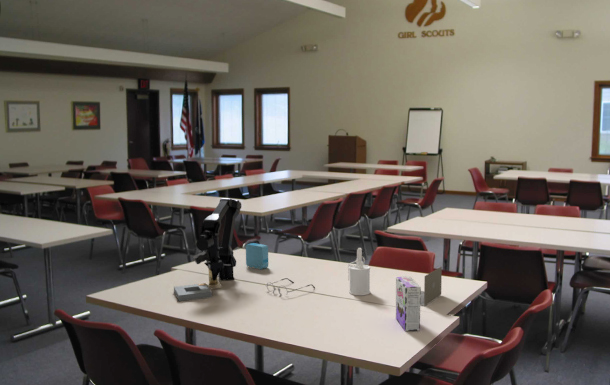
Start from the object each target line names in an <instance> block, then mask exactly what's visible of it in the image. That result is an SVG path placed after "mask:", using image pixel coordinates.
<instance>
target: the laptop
mask: <svg viewBox="0 0 610 385" xmlns="http://www.w3.org/2000/svg"><path fill="white" fill-rule="evenodd" d="M442 270H443V269H442V266H440V267H438V268H436V269H435V270H433V271H430V272H429V273H428V274H426V275H424V286H423V287H424V289H423V290H424V291H423V290H421V301H420V307H421V306H422V307H425V306H427V305H429V304H431V303H432V302H433V301H435V300H436V299H438V298H439V297H441V295H442V279H443V278H442Z"/></svg>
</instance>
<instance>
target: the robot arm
mask: <svg viewBox="0 0 610 385" xmlns="http://www.w3.org/2000/svg"><path fill="white" fill-rule="evenodd" d="M241 209H242V202H241V201H240V200H239V199H232V198H227V197H222V198H220V199H219V203H218V205H217V206H216V208H214V210H213V212H211V213H212V214H210V215H208V216H206V218H204V219H203V221H202V224H201V228H200V232H199V235H200V236H199V239H197V240H196V243H195V244H196V248H197V249H198V250H199V251H202V252H200V253H197V254H195V255H193V256H192V257H193V259H194V262H195V264H196V265H200V264H201V263H203V262H204V265H205V266H206V267H207V268H209V269H210V270H211V273H212V278H213V281H216V278H217V276H218V278H219V279H220V280H221V281H229V280H235V277H234V268H235V267H237V259H236V258H235V256H234V251H233V249H232V244H233V242H232V241H233V235H234V229H235V223H236V218H237V217H238V216H239V215H240V214H241ZM224 216H225V219H224V226H223V231H222V237H221V244H220V243H219V236H220V230H221V229H222V228H221V227H222V222H221V221H222V219H223V218H224ZM219 244H220V245H219ZM209 269H208V270H209Z"/></svg>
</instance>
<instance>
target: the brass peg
mask: <svg viewBox="0 0 610 385" xmlns="http://www.w3.org/2000/svg"><path fill="white" fill-rule="evenodd" d="M207 268H208V267H207ZM218 278H219V277H218V276H217V278H216V281H213V278H212V273H211V270H210V269H209V268H208V283H209V285H217V284H218V282H219V280H218Z"/></svg>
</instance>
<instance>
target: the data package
mask: <svg viewBox="0 0 610 385" xmlns="http://www.w3.org/2000/svg"><path fill="white" fill-rule="evenodd" d="M245 265H246V267H248V266H249V268H252V267H254V268H253V269H257V268H259V269H258V270H263V268H264V269H267V268H268V267H269V247H268V245H267V244H261V243H255V242H252V243H247V244H246V245H245Z"/></svg>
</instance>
